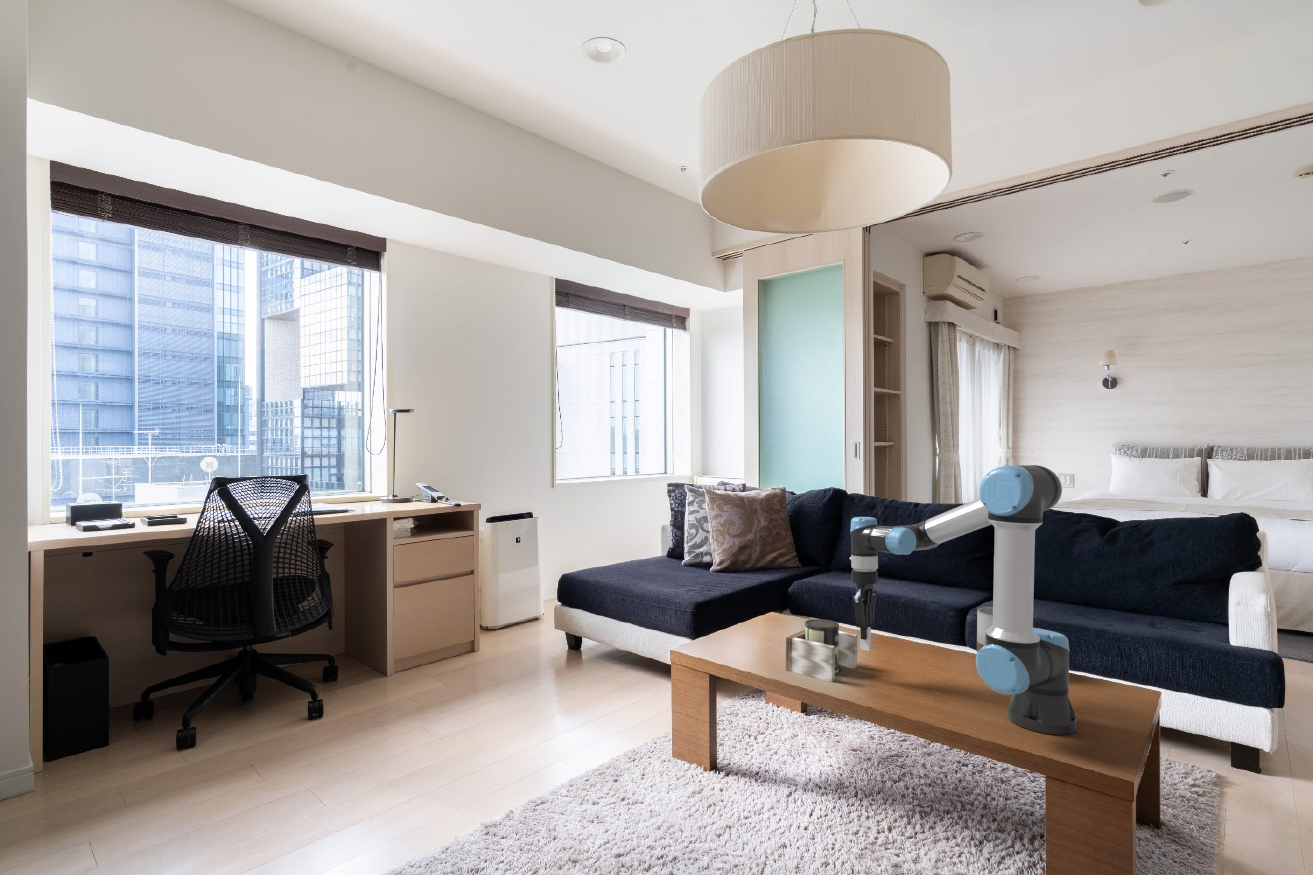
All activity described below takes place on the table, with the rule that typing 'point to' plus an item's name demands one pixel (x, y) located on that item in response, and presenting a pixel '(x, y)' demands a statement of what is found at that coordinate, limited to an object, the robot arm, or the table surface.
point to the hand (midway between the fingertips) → (865, 649)
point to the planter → (983, 624)
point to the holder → (819, 655)
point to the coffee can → (823, 634)
